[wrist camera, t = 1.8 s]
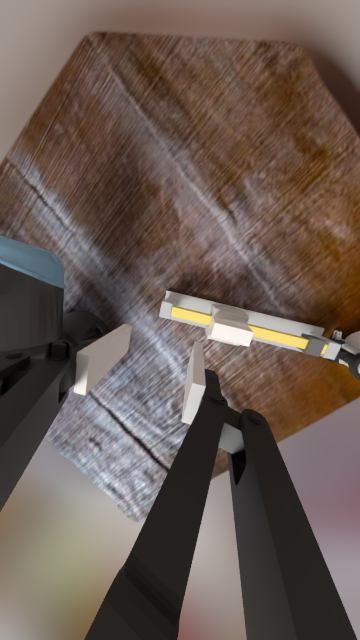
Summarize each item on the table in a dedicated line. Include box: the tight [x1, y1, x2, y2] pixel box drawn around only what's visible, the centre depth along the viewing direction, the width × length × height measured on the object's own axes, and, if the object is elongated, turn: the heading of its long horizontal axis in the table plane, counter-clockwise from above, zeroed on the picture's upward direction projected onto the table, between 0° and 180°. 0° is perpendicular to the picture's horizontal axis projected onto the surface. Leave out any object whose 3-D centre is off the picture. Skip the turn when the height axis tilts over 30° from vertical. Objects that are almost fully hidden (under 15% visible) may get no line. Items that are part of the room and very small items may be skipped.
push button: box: [326, 331, 360, 380], centre depth 32 cm, size 7×5×10 cm
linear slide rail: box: [159, 290, 342, 360], centre depth 35 cm, size 34×6×7 cm, turn 78°
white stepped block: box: [205, 304, 254, 347], centre depth 31 cm, size 6×6×10 cm
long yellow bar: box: [170, 305, 328, 357], centre depth 32 cm, size 32×3×3 cm, turn 78°
